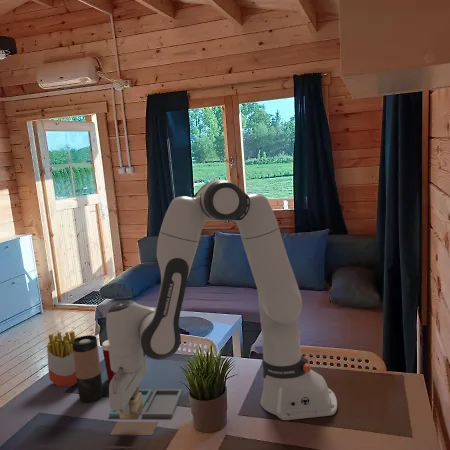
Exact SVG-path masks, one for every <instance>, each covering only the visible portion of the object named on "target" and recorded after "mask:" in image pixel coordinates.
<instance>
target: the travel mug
mask: <svg viewBox="0 0 450 450" xmlns="http://www.w3.org/2000/svg"><path fill="white" fill-rule="evenodd" d="M75 338H76V337H75ZM72 346H73V354H74V363H75V372H76V379H77V383H76V384H77V390H78V397H79V401H80V402H81V403H83V404H92V403H95V402H98V401H100V399H102V398H103V393H104V392H103V382H102V381H103V380H102V371H101V370H102V369H101V363H100V355H99V346H98V338H97V336H95V335H92V334H91V335H90V334H89V335H81V336H78V338H76V339H75V340H74V342H73V343H72Z"/></svg>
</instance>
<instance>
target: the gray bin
mask: <svg viewBox="0 0 450 450" xmlns="http://www.w3.org/2000/svg"><path fill="white" fill-rule="evenodd" d="M182 394H183V389H182V388H181V389H180V388H178V389H177V388H175V389H174V388H173V389H172V388H170V389H169V388H167V389H165V388H163V389H161V388H160V389H157V388H156V389H154V391H152V394H151V396H150V398H149V399H148V401H147V403H146V405H145V407H144V409H143V410H142V412H141V417H142V418H165V419H166V418H169V419H170V418H173V416H174V413H175V411H176V409H177V406H178V403H179V401H180V400H181V396H182Z"/></svg>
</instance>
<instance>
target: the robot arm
mask: <svg viewBox="0 0 450 450" xmlns="http://www.w3.org/2000/svg"><path fill="white" fill-rule="evenodd" d="M210 220H215V221H216V220H217V221H224V222H228V221H234V222H235V224H236V225H237V228H238V232H239V234H240V237H241V241H242V245H243V249H244V251H245V254H246V258H247V261H248V265H249V267H250V270H251V274H252V276H253V280H254V283H255V286H256V289H257V297H258V298H257V299H258V310H259V319H260V328H261V338H262V355H263V356H262V360H261V370H262V372H261V373H262V376H263V387H262V394H261V398H260V405H261V407H262V409H264V410H265V411H266V412H267V413H270V414H272V415H275V416H276V417H278V418H279V420H282V421H290V420H299V419H300V420H301V419H310V418H318V417H327V416H328V417H330V416H334V414H336V412H337V410H338V400H337V397H336V394H335V393H334V391H333V390H332V389H330V388H329V387H328V384H327V382H326V380H325V378H324V377H323V376H322V375H321V374H320V373H317V372H316V371H315V370H312V368H311V366H310V364H309V361H308V359H307V356H306V355H304V356H303V355H302V354H301V353H302V351H301V331H300V328H299V322H298V321H299V320H298V318H299V317H300V316H301V313H302V310H303V297H302V294H301V291H300V287H299V286H298V282H297V278H296V276H295V274H294V270H293V267H292V265H291V263H290V259H289V257H288V252H287V250H286V247H285V243H284V239H283V237H282V234H281V230H280V227H279V224H278V220H277V217H276V215H275V213H274V210H273V208H272V206H271V204H270V202H269V201H268V198H267V197H266V196H264V195H263V194H260V193H249V194H247V193H246V192H245V191H244V190H243V189H242V188H241V187H240V186H239V185H238V184H236V183H234V182H233V181H230V180H227V179H220V178H219V179H213V180H210V181H208V182H207V183H205V184H204V185H202V186H201V187H200V188H199V190H198V191H196V193H195V194H194V195H193V196H187V195H186V196H185V195H182V196H177V197H175V198H173V199H172V200H171V201H170V203H169V206H168V208H167V210H166V211H165V215H164V217H163V220H162V222H161V223H162V224H161V226H160V231H159V233H158V238H157V242H156V243H157V244H156V259H157V262H158V264H157V265H158V267H159V272H160V287H159V293H158V297H157V303H156V306H154V307H153V306H146V305H143V304H140V303H137V302H135V301H134V300H132V299H129V300H122V301H119V302H117V303H115V304H113V305H112V306H110V307H109V309H108V310H107V313H106V322H105V323H106V324H105V325H106V326H105V327H106V337H107V340H109V343H110V348H109V357H110V367H111V370H112V371H113V372H116V374H115V375H114V376H113V378H112V380H111V381H110V382H109V385H108V397H109V398H108V399H109V400H108V401H109V408H110V409H111V410H123V414H124V415H129V414H130V412H131V406H129V404H128V403H129V400H130V398H131V397H132V395H133V394H134V392H139V389H140V384H141V383H142V381H143V380H144V378H145V376H146V373H147V357H148V358H150V359H153V360H158V361H159V360H160V361H161V360H165V359H168V358H170V357H172V356H173V355H174V354H176V353H177V351H178V350H179V348H180V345H181V340H182V336H181V331H180V330H181V329H180V315H181V311H182V305H183V301H184V297H185V292H186V289H187V283H188V278H189V275H190V272H191V269H192V265H193V262H194V259H195V255H196V253H197V249H198V246H199V242H200V240H201V234H202V231H203V228H204V226H205V225H206V224H207V223H208V221H210Z"/></svg>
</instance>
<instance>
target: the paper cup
mask: <svg viewBox="0 0 450 450" xmlns="http://www.w3.org/2000/svg"><path fill="white" fill-rule="evenodd" d="M109 348H110V343H109V340H108V339H107V340H104V341H103V342H102V345H101V350H102V353H103V359H104V365H105V371H106V375H107V381H108V382H109V383H110V381H111V380H112V378H113V376H114V375H115V374H116V372H113V371H112V370H111V367H110V357H109Z"/></svg>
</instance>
